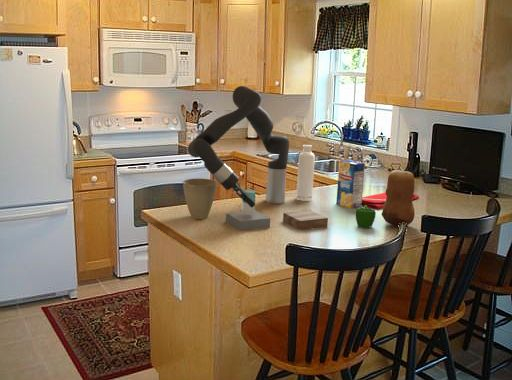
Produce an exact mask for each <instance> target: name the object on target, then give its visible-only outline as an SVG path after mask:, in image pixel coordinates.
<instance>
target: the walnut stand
mask: <svg viewBox="0 0 512 380" xmlns="http://www.w3.org/2000/svg"><path fill="white" fill-rule="evenodd" d="M282 216H283V217H282V222H283V223H286V225H287V224H288V225H289V226H291V227H293V228H295V229H297V230H299V231H303V230H313V229H312V228H314V229H322V228H321V227H323V228H328V225H329V223H328V222H329V218H328V217H327V216H324V215H322V214H320V213H318V212H315V211H313V210H311V209H309V210H299V211H289V212H288V211H287V212H283V215H282Z"/></svg>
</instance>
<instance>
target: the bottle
mask: <svg viewBox="0 0 512 380" xmlns="http://www.w3.org/2000/svg"><path fill="white" fill-rule="evenodd" d="M312 147H313V145H312V144H303V145H302V152H300V153H299V154H298V160H297V161H298V163H297V164H298V165H297V177H296V178H297V179H296V180H297V181H296V198H295V200H297V201H300V200H301V201H300V202H310V201H313V190H314V177H315V176H314V175H315V162H316V161H315V159H316V158H315V157H316V156H315V154H314V153H313V151H312ZM301 197H302V198H301Z"/></svg>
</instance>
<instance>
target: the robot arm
mask: <svg viewBox="0 0 512 380" xmlns="http://www.w3.org/2000/svg"><path fill="white" fill-rule="evenodd" d="M261 101H262V95H261V94H260V93H259V92H258V91H256V90H254V89H252V88H249V87H248V86H244V85H241V86H237V87H235V88H234V90H233V92H232V102H233V103H234V105H235V106H236V107H237V109H236V110H234V111H232V112H229V113H227V114H223V115H221V116H220V117H218V118H215V119H214V120H213V121H212V122H211V123H210V124H209V125H208V126H207V127H206V128H205V129H204V130H203V131H202V132H201V133H200V134H199V135H198V136H196V137H195V138H193V140H192V141H191V142H190V143H189V145H188V146H187V151H188V154H189V156H191V157H193V158H199V159H201V161H202V162H203V166H204V168H206V170H207V171H208V172H209V173H210V174H211V175H212V176H213V177H214V180H215V181H216V182H217V183H219V184H220V185H221V186H222V187H223V188H224V189H225V190H226V191H228V190H230V189H232V191H233V193H234V194H235V195H237V197H238V198H239V199H241V201H242V200H243V201H244V202H246V203H247V204H248V205H249V206H250V207H251V208H252V207H254V206H255V207H256V202H255V203H254V202H253V201H252V200H251V199H250V198H249V197H248V196H247V195H246V192H245V190H246V189H245V188H244V187H243V186H242V184H240V183H239V180H240V177H239V176H238V174H237V173H236V172H235V171H234V170H233V169H232V168H231V167H230V166H229V165H228V164H226V163H225V162H224V160H223V159H221V158H220V157H219V156H218V155H217V152H216V151H215V149H213V147H212V145H214V144H215V143H216V142H218V141H219V140H220V139H221V138H222V137H223V136H224V135H225V134H226V133H227V132H228V131H229V130H230V129H231V128H233V127H234V126H235V125H237V124H238V123H240V122H241V121H242V120H244V119H247V121H248V122H249V123H250V126H251V128H253V130H254V132H255V133H256V134H257V135H258V137H259V138H260V141H261V142H262V144H263V146H264V149H265V150H266V151H267V153H269V154H272V155H278V157H277V158H276V159H274V160H270V161H268V163H267V182H266V190H265V202H267V203H269V204H284V203H286V202H285V201H286V200H285V199H286V184H287V183H286V182H287V165H288V161H289V151H290V139H289V138H288V137H287V136H284V135H277V134H272V131H273V129H274V122H273V120H272V118H271V117H270V115H269V113H268V112H267V111H266V110H265V109H263V108H262V107H261V106H260V104H261ZM243 191H244V192H243ZM244 196H246V198H245V199H244V198H243V197H244Z"/></svg>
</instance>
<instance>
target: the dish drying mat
mask: <svg viewBox="0 0 512 380" xmlns="http://www.w3.org/2000/svg"><path fill="white" fill-rule="evenodd" d="M386 198H387V195H386V191H385V192H381V193H378V194H376V193H375V194H371V195H365V196H362V205H361V207H362V208H365V207H364V206H365V205H367V209H368V208H371V209H372V210H375V211H377V210H381V209H382V210H383V205H384V203H385V201H386ZM417 198H418V199H420V196H419V195H418V194H415V192H414V193H413V197H412V201H415V200H418V199H417ZM414 199H415V200H414Z"/></svg>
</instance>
